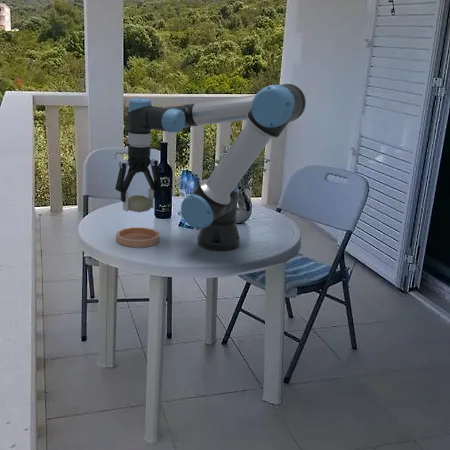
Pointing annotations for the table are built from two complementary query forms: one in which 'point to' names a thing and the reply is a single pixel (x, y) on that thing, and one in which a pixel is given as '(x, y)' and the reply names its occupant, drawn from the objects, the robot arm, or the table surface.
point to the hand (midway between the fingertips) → (138, 208)
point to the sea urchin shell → (139, 203)
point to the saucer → (137, 237)
